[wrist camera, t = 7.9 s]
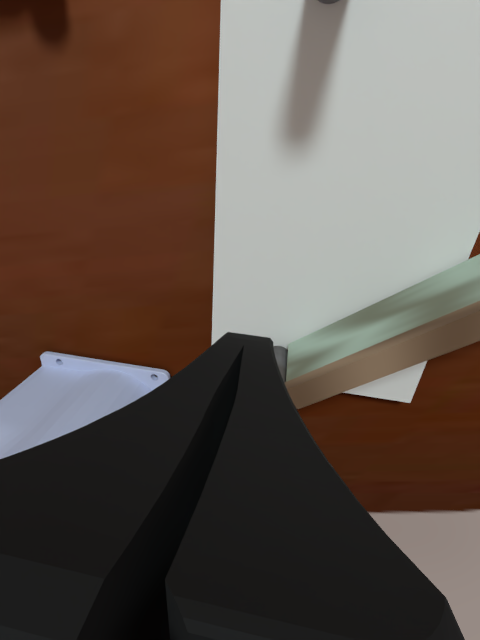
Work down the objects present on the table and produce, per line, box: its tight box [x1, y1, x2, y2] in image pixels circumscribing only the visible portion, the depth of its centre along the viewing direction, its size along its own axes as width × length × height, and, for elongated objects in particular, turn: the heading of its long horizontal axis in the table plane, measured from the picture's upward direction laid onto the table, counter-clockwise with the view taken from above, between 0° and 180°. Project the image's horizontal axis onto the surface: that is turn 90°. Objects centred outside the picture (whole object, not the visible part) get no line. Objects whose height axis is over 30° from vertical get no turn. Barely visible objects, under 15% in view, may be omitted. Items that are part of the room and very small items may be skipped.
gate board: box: [212, 0, 480, 403], centre depth 13 cm, size 12×20×6 cm, turn 176°
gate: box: [273, 254, 480, 409], centre depth 14 cm, size 15×2×4 cm, turn 124°
